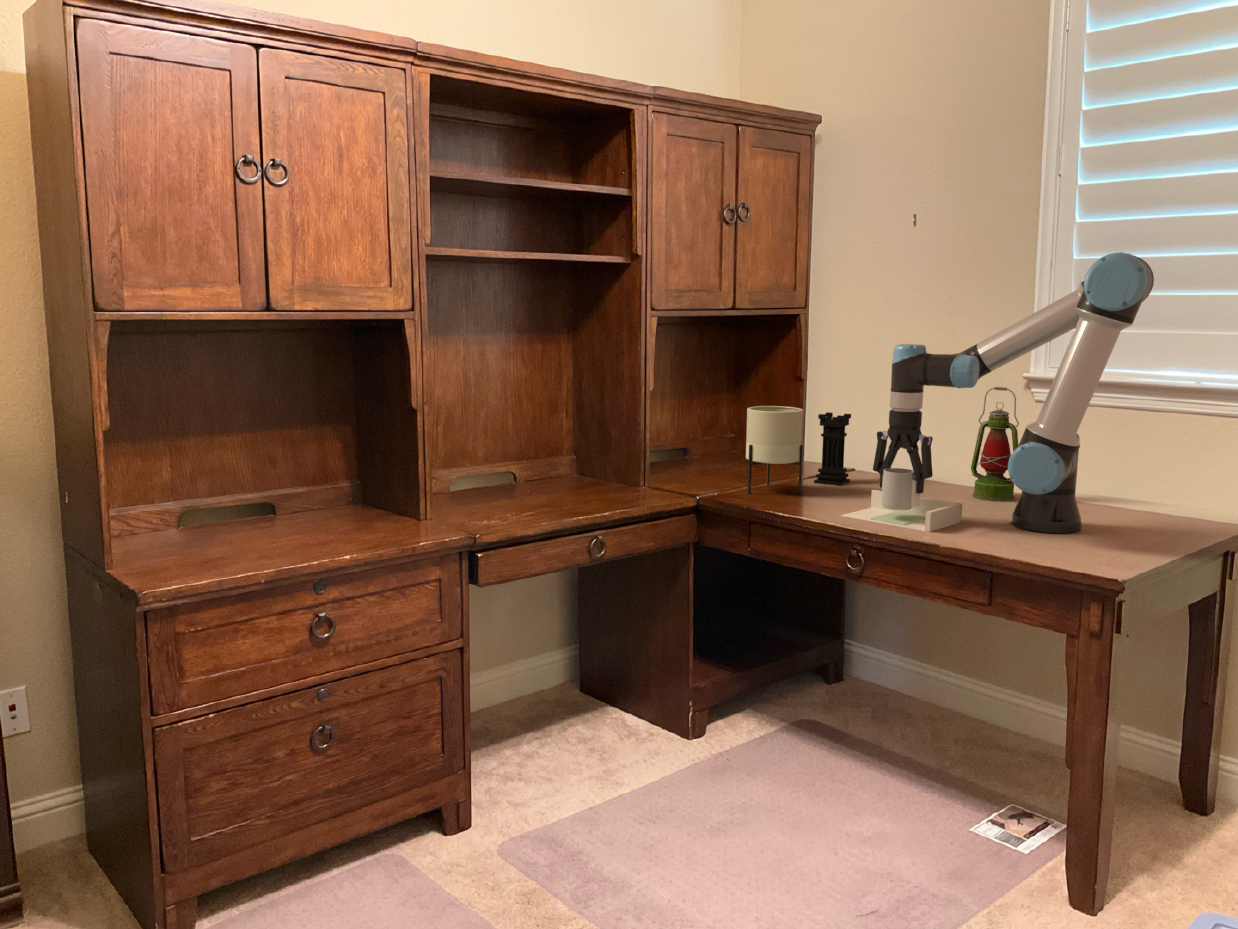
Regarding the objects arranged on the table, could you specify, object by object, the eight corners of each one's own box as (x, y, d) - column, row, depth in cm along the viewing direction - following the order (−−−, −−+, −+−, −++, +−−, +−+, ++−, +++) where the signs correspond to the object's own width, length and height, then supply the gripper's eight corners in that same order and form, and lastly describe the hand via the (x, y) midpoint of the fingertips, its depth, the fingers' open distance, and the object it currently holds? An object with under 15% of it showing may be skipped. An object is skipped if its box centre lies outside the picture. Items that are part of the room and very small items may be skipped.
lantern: (1027, 498, 276) (1035, 387, 271) (1010, 504, 268) (1018, 390, 264) (977, 491, 286) (984, 384, 281) (960, 496, 278) (967, 386, 273)
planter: (791, 498, 273) (794, 413, 270) (736, 492, 281) (738, 409, 277) (810, 489, 286) (813, 408, 283) (757, 484, 294) (759, 404, 290)
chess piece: (849, 481, 300) (852, 413, 296) (840, 485, 293) (843, 416, 290) (824, 478, 304) (826, 412, 301) (813, 482, 297) (816, 414, 294)
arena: (961, 524, 244) (962, 503, 243) (929, 533, 234) (930, 512, 233) (873, 508, 261) (874, 489, 260) (840, 517, 251) (840, 497, 250)
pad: (929, 518, 248) (929, 516, 248) (903, 525, 240) (903, 524, 240) (896, 512, 255) (896, 511, 254) (870, 519, 246) (870, 518, 246)
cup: (875, 506, 247) (877, 469, 246) (904, 502, 252) (906, 466, 251) (897, 511, 241) (899, 474, 239) (927, 507, 246) (929, 470, 245)
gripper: (952, 412, 238) (946, 508, 242) (877, 404, 253) (872, 495, 256) (936, 414, 233) (930, 512, 237) (860, 406, 247) (855, 499, 251)
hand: (900, 503), depth 247 cm, fingers closed on cup, 7 cm apart
